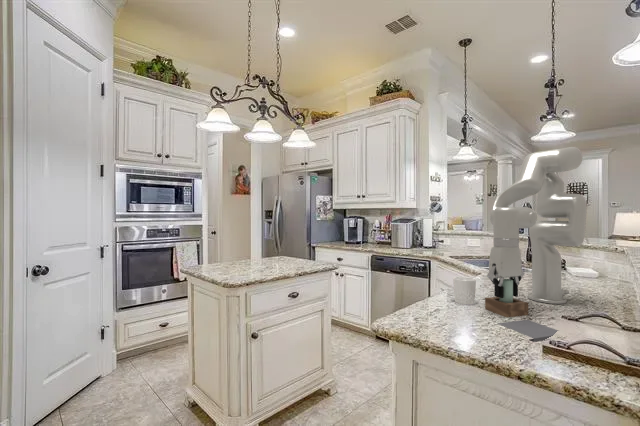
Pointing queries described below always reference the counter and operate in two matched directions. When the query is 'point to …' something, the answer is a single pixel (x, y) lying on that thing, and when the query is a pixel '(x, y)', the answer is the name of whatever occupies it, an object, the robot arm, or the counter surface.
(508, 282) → the pale green cylinder
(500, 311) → the box
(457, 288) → the white cup
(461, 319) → the counter surface
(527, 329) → the mat
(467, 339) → the counter surface
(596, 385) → the counter surface
